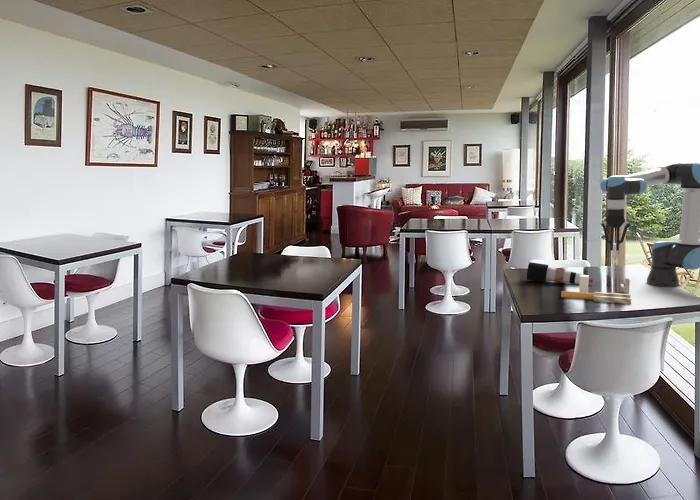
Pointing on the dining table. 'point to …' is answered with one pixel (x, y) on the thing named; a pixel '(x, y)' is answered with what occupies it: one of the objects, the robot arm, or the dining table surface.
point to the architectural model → (626, 285)
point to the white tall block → (584, 283)
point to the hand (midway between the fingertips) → (614, 256)
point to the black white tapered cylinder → (551, 274)
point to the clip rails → (612, 297)
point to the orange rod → (578, 295)
